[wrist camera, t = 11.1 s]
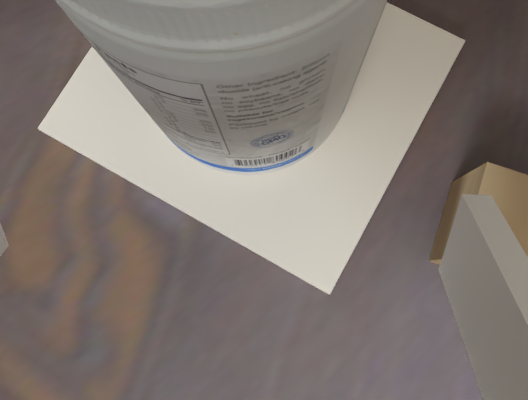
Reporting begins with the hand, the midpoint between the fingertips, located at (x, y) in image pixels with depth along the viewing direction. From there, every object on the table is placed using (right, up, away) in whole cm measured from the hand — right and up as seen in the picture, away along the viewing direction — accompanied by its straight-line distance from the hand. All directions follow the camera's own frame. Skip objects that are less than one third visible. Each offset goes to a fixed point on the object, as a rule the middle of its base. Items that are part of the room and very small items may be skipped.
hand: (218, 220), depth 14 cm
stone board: (+1, +6, +11) cm, 12 cm away
